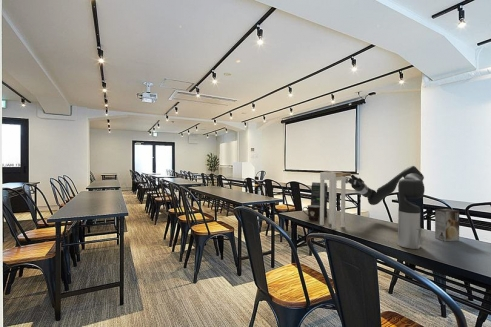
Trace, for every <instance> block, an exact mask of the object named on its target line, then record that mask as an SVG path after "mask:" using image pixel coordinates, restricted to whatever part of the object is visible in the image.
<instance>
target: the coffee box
mask: <svg viewBox="0 0 491 327" xmlns="http://www.w3.org/2000/svg"><path fill="white" fill-rule="evenodd" d="M434 214H435V215H434V223H435V224H434V238H435V239H436V240H439V241H443V240H444V241H443V242H453V241H460V210H457V209H450V208H439V209H438V208H436V209H434Z"/></svg>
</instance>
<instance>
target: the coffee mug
mask: <svg viewBox="0 0 491 327" xmlns="http://www.w3.org/2000/svg"><path fill="white" fill-rule="evenodd" d="M304 209H307V212H305V210H304ZM319 211H320V206H318V205H311V204H309V205H307V206H304V207H302V212H303V213H304V214H305V215H307V217H308V221H309V220H310V222H319V220H320V217H319Z"/></svg>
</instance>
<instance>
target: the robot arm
mask: <svg viewBox="0 0 491 327" xmlns="http://www.w3.org/2000/svg"><path fill="white" fill-rule="evenodd" d="M342 177H346V184H350V186H351V188H352V189H353V190H355V191H356V192H357V193H358V194H360V195H361V196H363V197H364V198H367V201H368V204H369V205H371V206H375V205H378V204H379V203H380V202H382V201H383V200H384V199H385V197H387V196H389V195H390V194H393V193H394V191H395V190H396V188H397V187H398V188H397V191H398V213H397V214H398V215H397V218H398V220H397V245H398V246H399V247H402V248H405V249H406V248H407V249H411V250H419V249H420V248H421V247H422V245H421V244H422V227H421V207H420V206H419V205H416V204H414V203H412V202H410V201H408V200H407V199H421V198H423V197H424V195H425V184H424V179H425V176H424V175H423V173H422V172H421V171H420V170H419V169H418V168H417V167H416V166H415V165H411V166H408V167H407V168H405V169H403V170H402V171H401V172H400V173H398V174H397V175H395V176H394V177H393V178H392V179H390V180H389V181H388V182H387V183H385V184H383V185H382V186H379V187H378V188H377V189H376V190H375V189H372V188H370V187H369V186H368V185H367V184H366V183H365V181H364V180H363V179H362V178H361V177H358V176H355V175H354V174H351V176H342Z"/></svg>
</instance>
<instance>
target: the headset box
mask: <svg viewBox="0 0 491 327" xmlns="http://www.w3.org/2000/svg"><path fill="white" fill-rule="evenodd" d="M328 188H329V185H328V183H327V182H324V217H326V218H328V215H327V214H328ZM310 205H318V206H320V182H316V181H315V182H314V181H313V182H311V188H310ZM319 218H320V211H319Z"/></svg>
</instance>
